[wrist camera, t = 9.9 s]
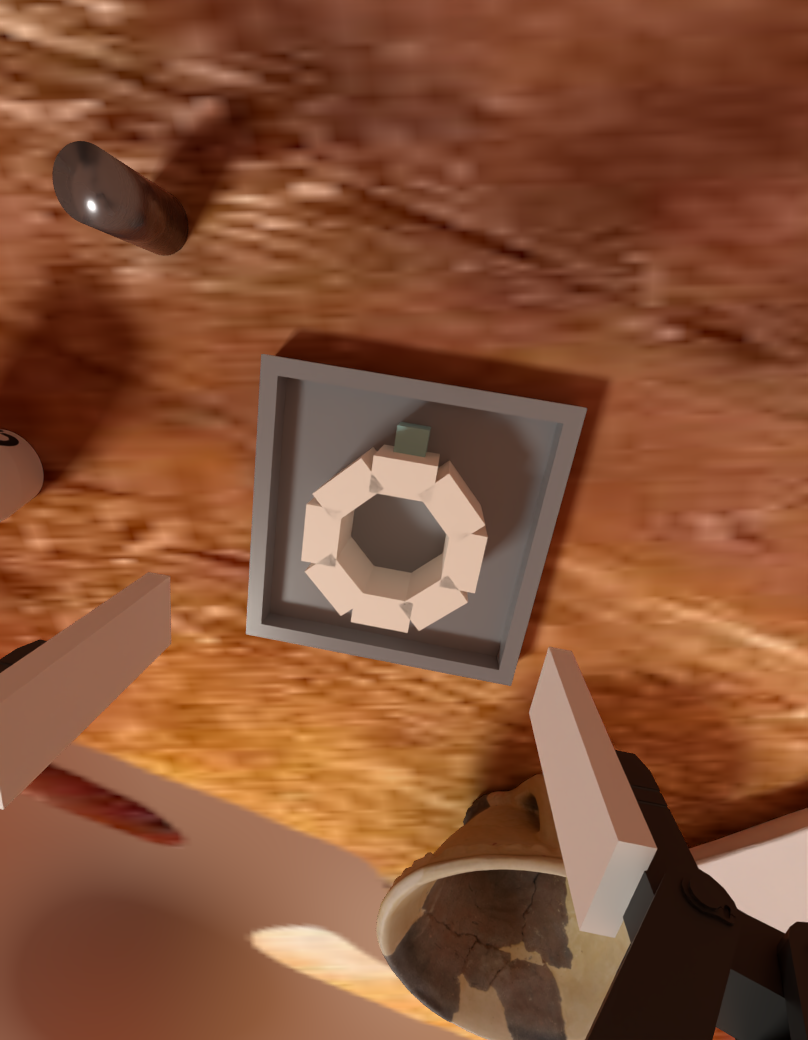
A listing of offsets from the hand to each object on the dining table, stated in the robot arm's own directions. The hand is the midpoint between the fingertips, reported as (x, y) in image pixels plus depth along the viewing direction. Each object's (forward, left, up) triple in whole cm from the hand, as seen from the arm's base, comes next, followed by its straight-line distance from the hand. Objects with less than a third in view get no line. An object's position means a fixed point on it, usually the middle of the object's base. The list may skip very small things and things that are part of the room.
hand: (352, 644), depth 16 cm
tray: (0, 0, -15) cm, 15 cm away
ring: (0, 0, -14) cm, 14 cm away
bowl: (+23, +12, -15) cm, 30 cm away
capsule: (-15, -16, -15) cm, 26 cm away
